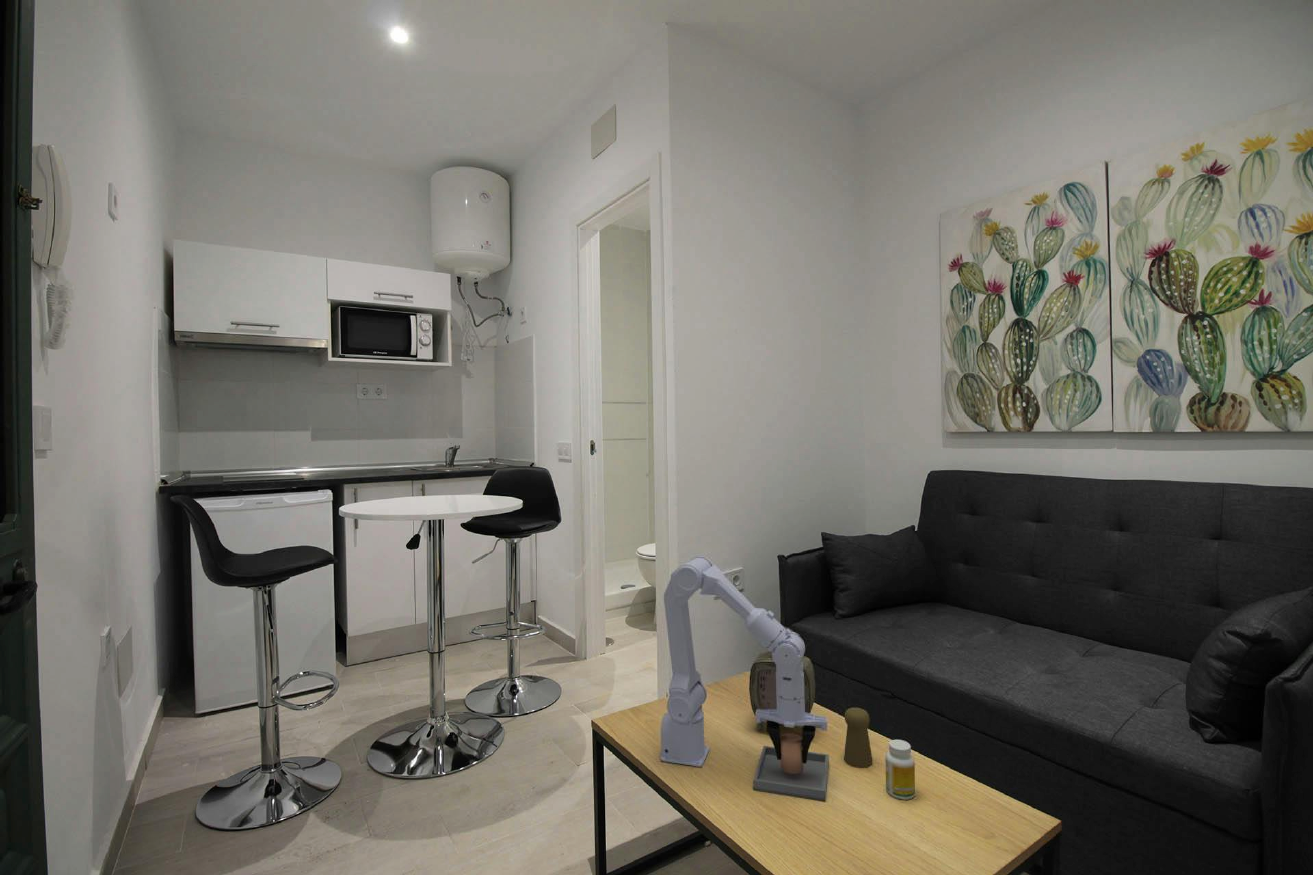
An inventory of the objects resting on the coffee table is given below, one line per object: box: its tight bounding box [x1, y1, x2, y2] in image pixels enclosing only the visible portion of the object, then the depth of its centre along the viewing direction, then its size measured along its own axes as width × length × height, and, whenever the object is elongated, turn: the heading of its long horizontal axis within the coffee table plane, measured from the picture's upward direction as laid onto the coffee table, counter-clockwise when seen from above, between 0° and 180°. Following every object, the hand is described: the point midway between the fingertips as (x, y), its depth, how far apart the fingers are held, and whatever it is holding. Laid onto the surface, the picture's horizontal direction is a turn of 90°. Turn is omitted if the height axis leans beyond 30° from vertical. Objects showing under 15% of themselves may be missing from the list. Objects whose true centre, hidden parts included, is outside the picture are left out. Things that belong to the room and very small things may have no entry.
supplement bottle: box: [884, 739, 916, 801], centre depth 120 cm, size 5×5×10 cm
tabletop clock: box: [748, 626, 816, 736], centre depth 147 cm, size 14×9×25 cm, turn 67°
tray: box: [752, 745, 830, 802], centre depth 127 cm, size 14×14×2 cm
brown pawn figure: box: [843, 707, 874, 769], centre depth 132 cm, size 6×6×11 cm
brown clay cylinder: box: [780, 733, 804, 774], centre depth 127 cm, size 5×5×6 cm
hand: (792, 759), depth 127 cm, fingers closed on brown clay cylinder, 5 cm apart
